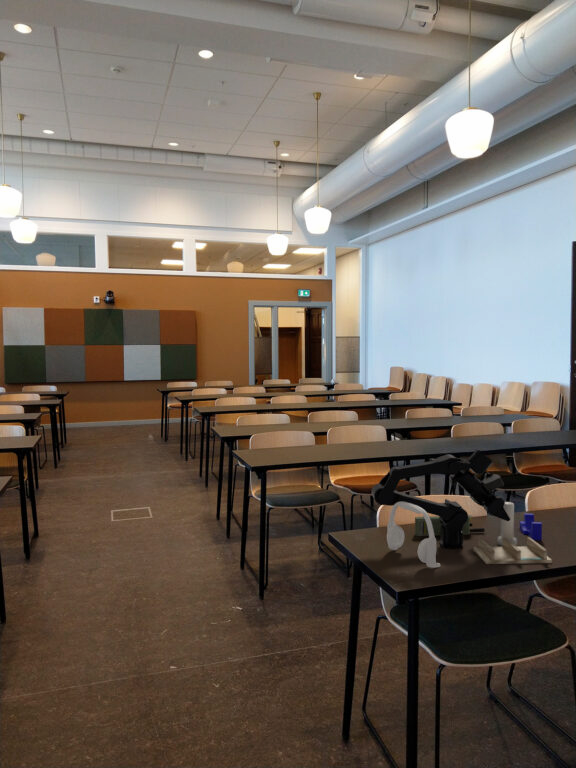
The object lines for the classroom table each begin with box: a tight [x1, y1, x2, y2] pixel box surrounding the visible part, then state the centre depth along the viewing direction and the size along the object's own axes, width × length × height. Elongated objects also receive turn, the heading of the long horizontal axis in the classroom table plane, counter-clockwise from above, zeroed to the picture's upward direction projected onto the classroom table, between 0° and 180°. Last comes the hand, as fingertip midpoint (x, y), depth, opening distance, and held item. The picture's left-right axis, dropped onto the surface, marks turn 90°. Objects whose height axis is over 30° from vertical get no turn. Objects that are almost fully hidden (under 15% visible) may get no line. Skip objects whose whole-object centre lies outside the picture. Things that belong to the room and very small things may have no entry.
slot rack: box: [473, 536, 553, 565], centre depth 178 cm, size 20×12×4 cm, turn 90°
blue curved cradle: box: [519, 512, 543, 541], centre depth 198 cm, size 12×4×6 cm, turn 170°
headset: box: [386, 502, 441, 569], centre depth 176 cm, size 20×7×18 cm, turn 28°
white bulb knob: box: [497, 501, 518, 547], centre depth 188 cm, size 6×6×14 cm
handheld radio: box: [414, 514, 486, 537], centre depth 200 cm, size 7×3×25 cm
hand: (503, 516), depth 188 cm, fingers open, 9 cm apart
